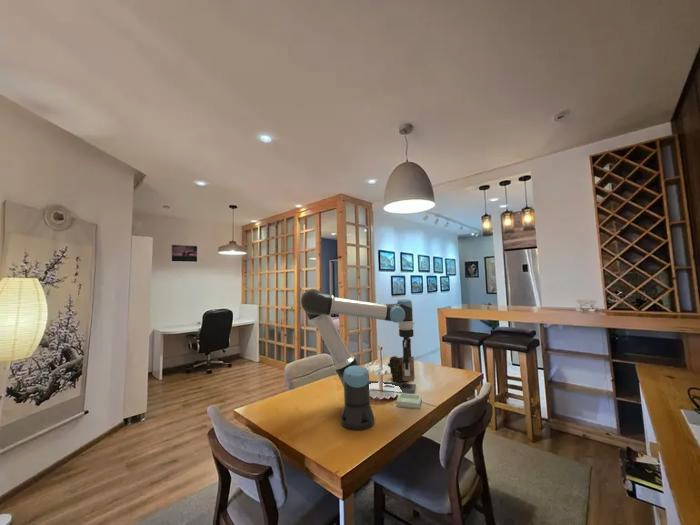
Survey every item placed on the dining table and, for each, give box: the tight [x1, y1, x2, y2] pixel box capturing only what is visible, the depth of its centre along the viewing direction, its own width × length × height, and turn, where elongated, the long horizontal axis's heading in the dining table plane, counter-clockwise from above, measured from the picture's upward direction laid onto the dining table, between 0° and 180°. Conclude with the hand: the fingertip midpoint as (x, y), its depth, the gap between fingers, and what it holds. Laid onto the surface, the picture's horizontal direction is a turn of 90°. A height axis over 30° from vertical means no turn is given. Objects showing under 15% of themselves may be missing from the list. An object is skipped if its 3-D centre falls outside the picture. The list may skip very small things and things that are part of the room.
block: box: [401, 356, 416, 382], centre depth 148 cm, size 6×6×11 cm
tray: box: [395, 393, 423, 410], centre depth 147 cm, size 12×12×3 cm
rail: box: [369, 379, 417, 394], centre depth 169 cm, size 10×30×2 cm, turn 71°
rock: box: [387, 355, 409, 383], centre depth 183 cm, size 12×9×15 cm
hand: (408, 373), depth 148 cm, fingers closed on block, 5 cm apart
